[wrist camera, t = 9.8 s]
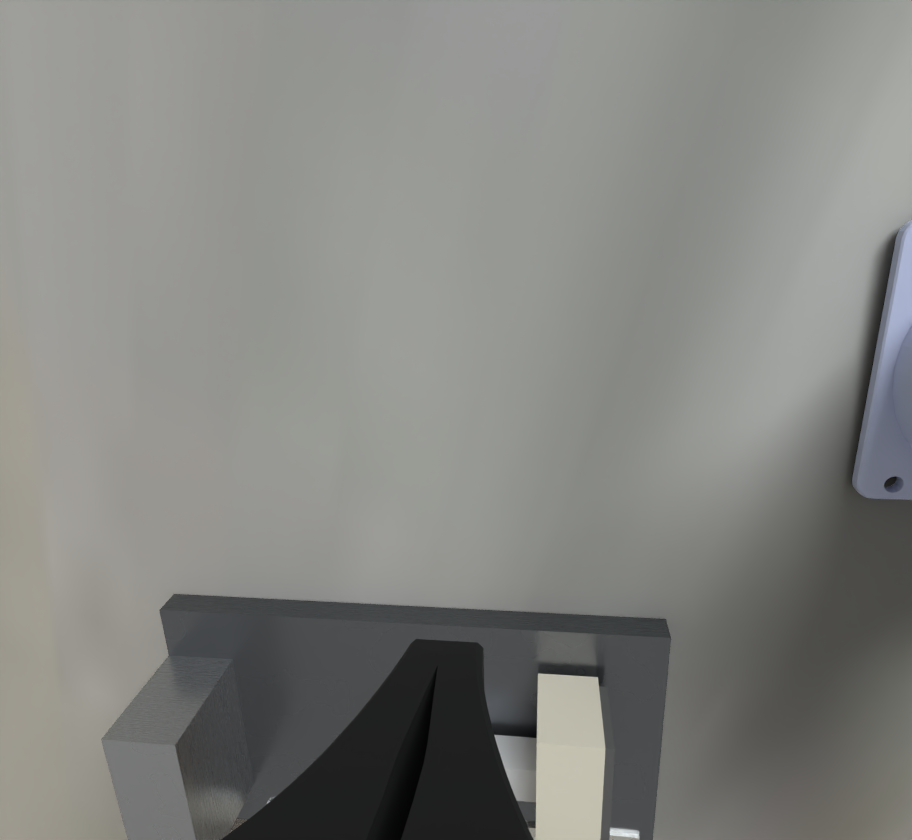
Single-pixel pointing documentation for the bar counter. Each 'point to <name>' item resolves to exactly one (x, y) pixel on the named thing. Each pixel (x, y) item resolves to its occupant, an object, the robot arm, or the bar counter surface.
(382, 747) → the robot arm
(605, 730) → the cream and grey block
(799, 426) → the bar counter surface
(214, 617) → the plate
